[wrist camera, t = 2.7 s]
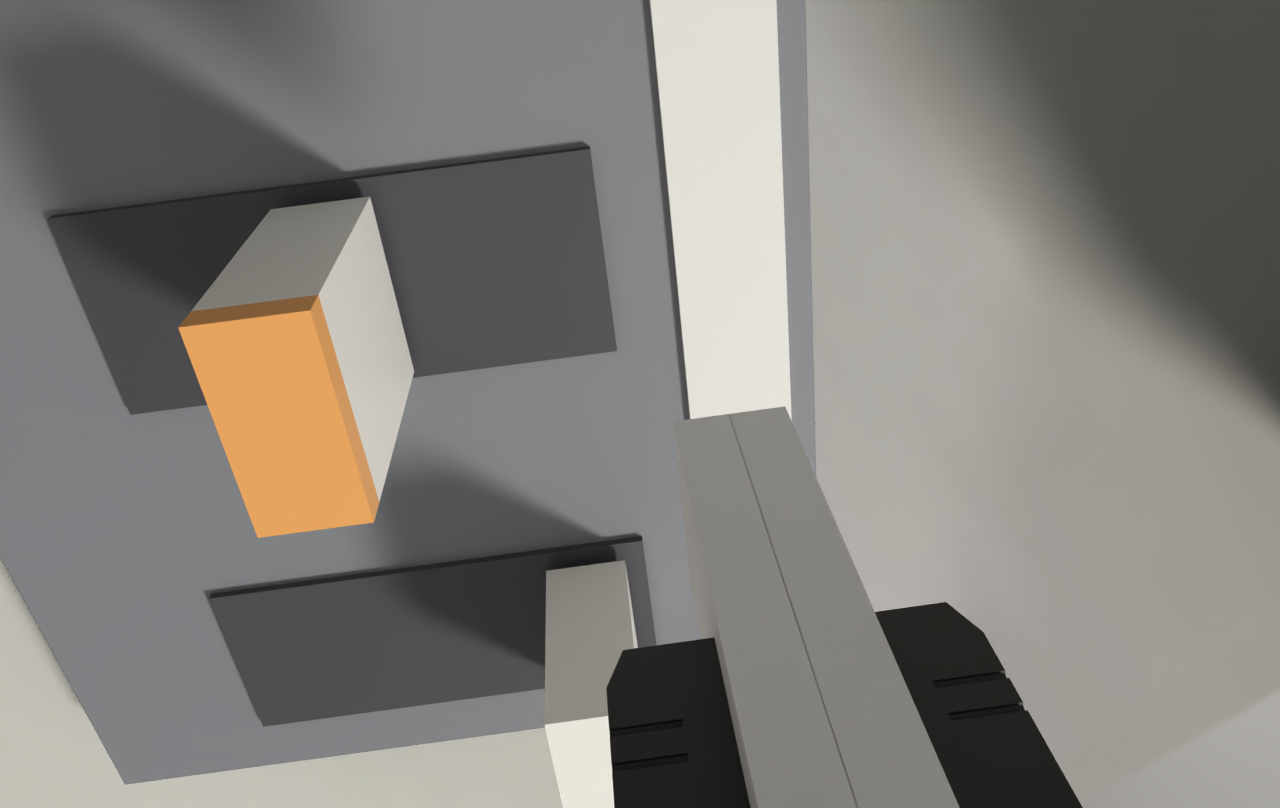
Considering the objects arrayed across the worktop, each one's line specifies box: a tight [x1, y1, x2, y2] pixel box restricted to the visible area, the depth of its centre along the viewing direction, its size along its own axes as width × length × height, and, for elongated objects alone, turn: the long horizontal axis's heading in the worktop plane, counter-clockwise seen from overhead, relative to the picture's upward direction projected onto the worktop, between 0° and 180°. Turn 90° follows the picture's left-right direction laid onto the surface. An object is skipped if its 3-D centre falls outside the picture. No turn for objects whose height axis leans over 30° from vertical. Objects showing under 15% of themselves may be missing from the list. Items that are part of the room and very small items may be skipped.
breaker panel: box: [0, 0, 816, 784], centre depth 22 cm, size 28×20×2 cm
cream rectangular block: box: [545, 560, 638, 808], centre depth 24 cm, size 4×2×5 cm, turn 6°
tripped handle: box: [178, 197, 414, 538], centre depth 18 cm, size 4×2×6 cm, turn 6°
